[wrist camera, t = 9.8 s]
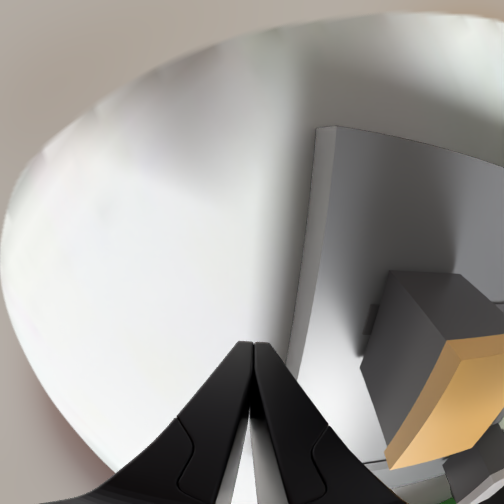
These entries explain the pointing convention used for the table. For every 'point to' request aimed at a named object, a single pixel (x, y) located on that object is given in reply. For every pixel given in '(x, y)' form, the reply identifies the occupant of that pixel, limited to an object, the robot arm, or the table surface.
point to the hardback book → (449, 501)
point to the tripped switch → (434, 366)
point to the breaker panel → (384, 264)
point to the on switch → (477, 468)
